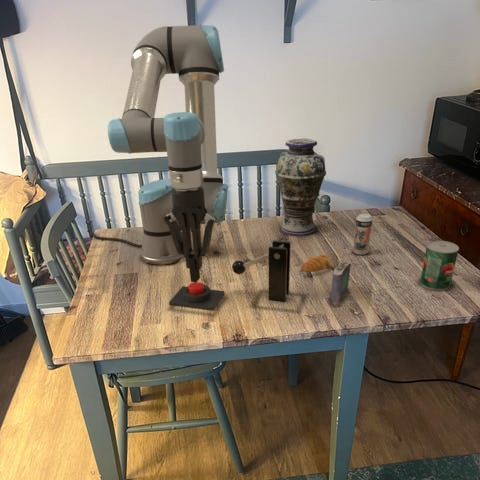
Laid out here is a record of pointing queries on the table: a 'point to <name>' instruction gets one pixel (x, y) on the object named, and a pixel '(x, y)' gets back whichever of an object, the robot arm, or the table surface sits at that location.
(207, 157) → the robot arm
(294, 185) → the vase
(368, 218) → the spice shaker
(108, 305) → the table surface
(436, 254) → the canned tomato
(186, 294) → the stop box
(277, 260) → the switch bracket
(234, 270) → the switch lever
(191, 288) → the stop button
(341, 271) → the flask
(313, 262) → the pastry
